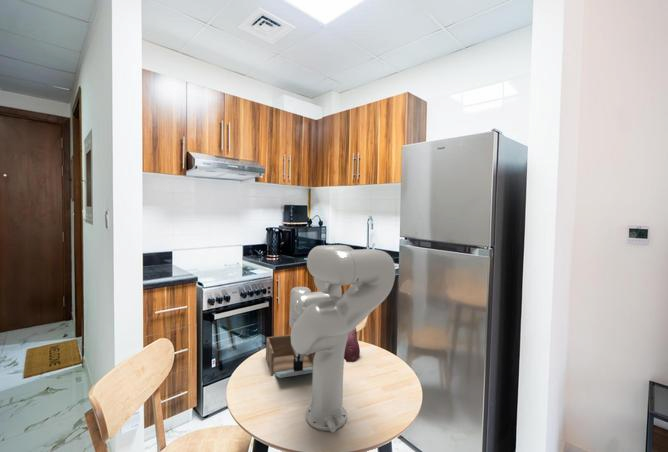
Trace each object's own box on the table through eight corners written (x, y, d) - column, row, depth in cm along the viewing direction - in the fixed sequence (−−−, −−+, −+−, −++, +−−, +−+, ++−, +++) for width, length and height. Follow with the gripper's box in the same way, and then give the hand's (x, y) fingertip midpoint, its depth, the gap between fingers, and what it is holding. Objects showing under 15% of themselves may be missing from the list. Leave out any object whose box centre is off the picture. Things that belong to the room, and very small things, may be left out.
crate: (316, 371, 121) (317, 347, 120) (271, 379, 115) (271, 353, 114) (306, 354, 135) (307, 332, 134) (265, 360, 129) (266, 337, 128)
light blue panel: (313, 369, 120) (321, 371, 111) (274, 375, 115) (279, 377, 106) (313, 366, 121) (321, 367, 111) (274, 372, 115) (279, 374, 106)
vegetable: (358, 359, 139) (367, 327, 140) (357, 367, 129) (367, 333, 130) (336, 351, 140) (345, 320, 141) (334, 359, 130) (344, 325, 131)
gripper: (315, 328, 105) (313, 379, 106) (304, 313, 119) (302, 358, 120) (294, 330, 103) (292, 383, 104) (285, 314, 116) (283, 361, 118)
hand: (297, 369), depth 112 cm, fingers closed
